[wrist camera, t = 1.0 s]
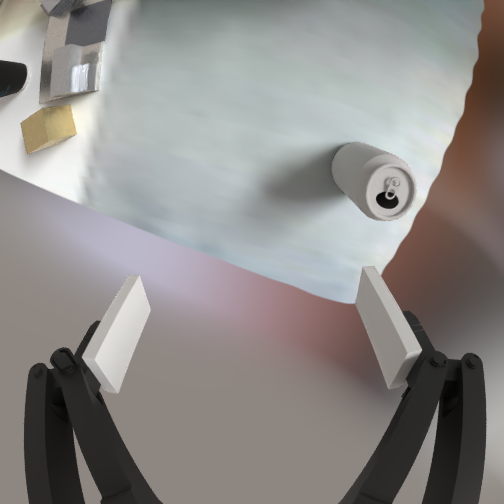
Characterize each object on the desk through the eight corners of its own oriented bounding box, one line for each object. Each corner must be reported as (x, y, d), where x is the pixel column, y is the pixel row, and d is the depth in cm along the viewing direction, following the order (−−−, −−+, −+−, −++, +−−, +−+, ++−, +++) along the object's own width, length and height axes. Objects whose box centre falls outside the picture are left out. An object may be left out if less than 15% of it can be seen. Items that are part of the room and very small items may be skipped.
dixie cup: (21, 51, 23) (-22, 51, 14) (42, 64, 26) (-4, 65, 16) (4, 90, 26) (-39, 97, 17) (23, 106, 29) (-22, 115, 19)
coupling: (48, 117, 30) (20, 123, 24) (70, 104, 30) (41, 108, 24) (55, 144, 33) (27, 154, 27) (76, 133, 32) (48, 141, 26)
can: (323, 186, 37) (350, 219, 26) (336, 134, 33) (371, 147, 23) (370, 197, 37) (408, 233, 27) (384, 149, 34) (430, 169, 23)
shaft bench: (56, -12, 18) (36, -19, 13) (123, -37, 18) (106, -51, 13) (38, 104, 29) (14, 108, 24) (102, 89, 29) (79, 89, 24)
